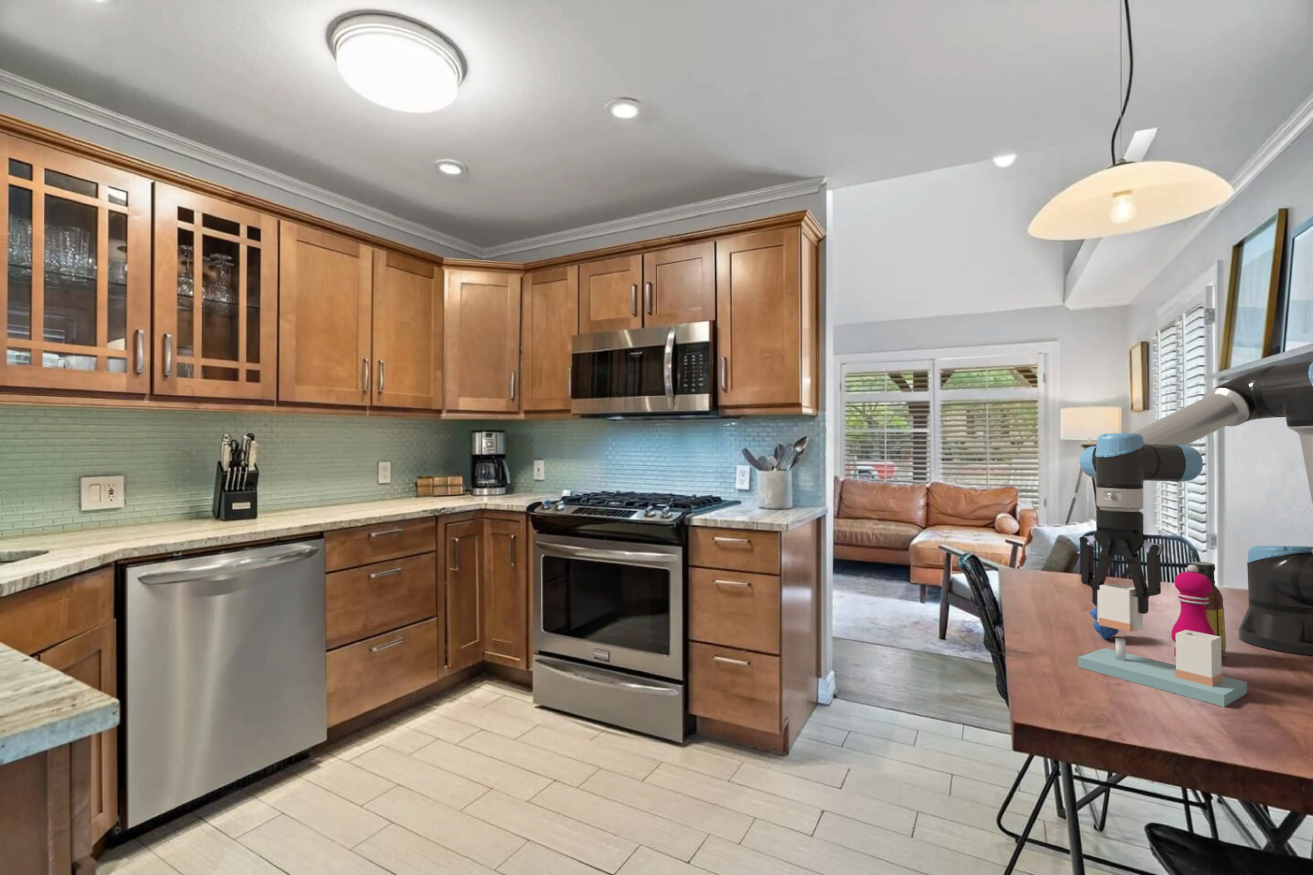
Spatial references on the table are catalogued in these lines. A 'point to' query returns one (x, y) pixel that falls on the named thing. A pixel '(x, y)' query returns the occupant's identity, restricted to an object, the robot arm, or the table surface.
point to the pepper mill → (1192, 602)
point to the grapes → (1102, 627)
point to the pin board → (1158, 675)
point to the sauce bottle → (1214, 604)
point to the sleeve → (1116, 606)
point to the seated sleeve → (1198, 657)
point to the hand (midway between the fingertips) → (1119, 625)
